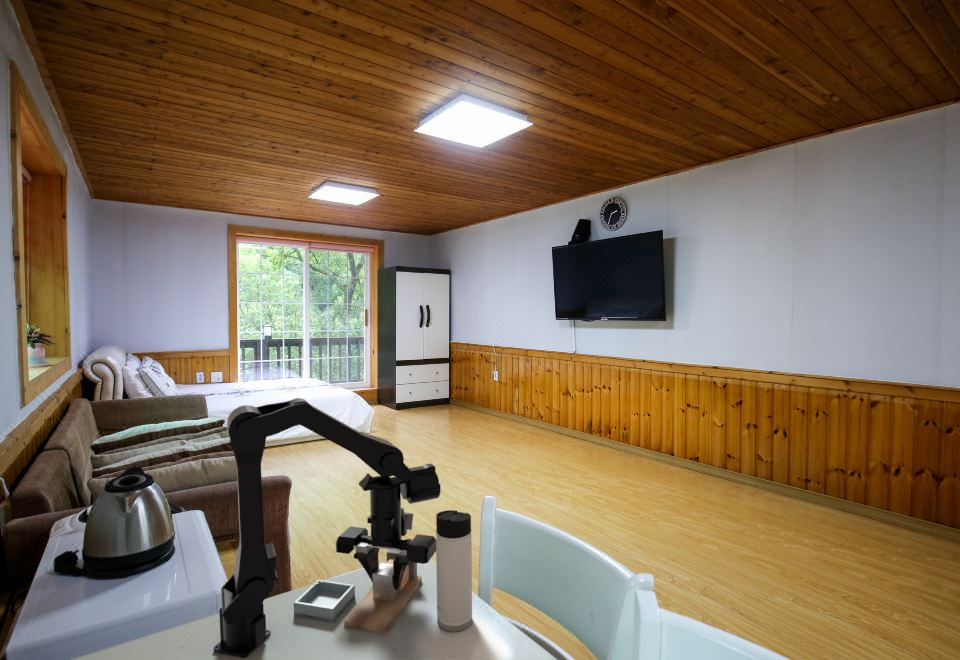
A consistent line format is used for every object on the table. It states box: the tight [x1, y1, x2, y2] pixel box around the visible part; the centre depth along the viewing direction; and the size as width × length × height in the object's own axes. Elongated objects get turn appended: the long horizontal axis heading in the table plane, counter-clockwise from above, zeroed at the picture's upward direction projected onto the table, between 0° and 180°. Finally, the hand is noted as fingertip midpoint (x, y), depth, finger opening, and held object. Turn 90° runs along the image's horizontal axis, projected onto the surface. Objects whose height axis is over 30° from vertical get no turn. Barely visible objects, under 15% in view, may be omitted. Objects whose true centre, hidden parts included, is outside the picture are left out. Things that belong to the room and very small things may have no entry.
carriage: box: [372, 562, 401, 602], centre depth 98 cm, size 4×4×5 cm
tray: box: [293, 579, 356, 624], centre depth 96 cm, size 8×8×2 cm
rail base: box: [343, 549, 423, 635], centre depth 97 cm, size 8×17×6 cm, turn 165°
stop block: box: [385, 558, 409, 590], centre depth 102 cm, size 4×4×4 cm
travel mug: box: [435, 509, 473, 633], centre depth 91 cm, size 6×7×20 cm
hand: (387, 587), depth 98 cm, fingers closed on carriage, 4 cm apart
